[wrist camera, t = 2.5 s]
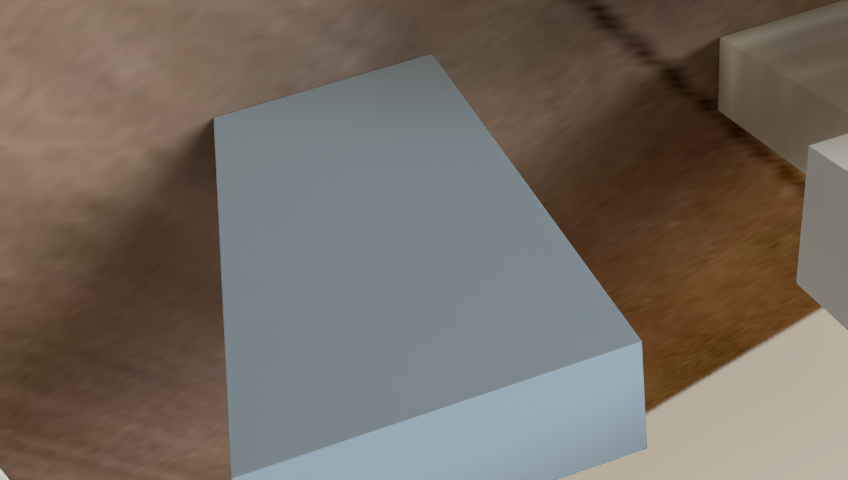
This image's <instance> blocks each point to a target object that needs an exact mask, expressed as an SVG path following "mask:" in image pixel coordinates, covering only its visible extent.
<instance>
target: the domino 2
mask: <svg viewBox="0 0 848 480" xmlns="http://www.w3.org/2000/svg"><path fill="white" fill-rule="evenodd" d="M718 111H720V112H721V113H722V114H724V115H725V116H727V117H728V118H729V119H731V120H732V121H733V122H735V123H736V124H738V125H739V126H740V127H742V128H743V129H744V130H746V131H747V132H748V133H750V134H751V135H753V136H754V137H755V138H757V139H758V140H759V141H761V142H762V143H764V144H765V145H766V146H768V147H769V148H770V149H772V150H773V151H775V152H776V153H777V154H779V155H780V156H781V157H783V158H784V159H785V160H787V161H788V162H790V163H791V164H792V165H794V166H795V167H796V168H798V169H799V170H801V171H802V172H803V173H805V174H806V172H807V161H808V150H809V146H810V145H813V144H816V143H819V142H822V141H825V140H829V139H832V138H835V137H838V136H841V135H844V134H848V0H841V1H838V2H835V3H831V4H828V5H825V6H821V7H818V8H815V9H812V10H808V11H805V12H802V13H798V14H795V15H792V16H789V17H785V18H782V19H779V20H775V21H772V22H769V23H765V24H762V25H759V26H756V27H752V28H749V29H746V30H742V31H739V32H736V33H732V34H729V35H726V36H723V37H720V53H719V95H718Z"/></svg>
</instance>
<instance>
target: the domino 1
mask: <svg viewBox="0 0 848 480" xmlns="http://www.w3.org/2000/svg"><path fill="white" fill-rule="evenodd" d="M214 136H215V157H216V177H217V197H218V217H219V237H220V257H221V277H222V298H223V318H224V338H225V358H226V378H227V398H228V418H229V439H230V459H231V479H232V480H557V479H560V478H563V477H566V476H568V475H571V474H575V473H577V472H580V471H583V470H586V469H589V468H592V467H594V466H597V465H600V464H603V463H606V462H609V461H612V460H615V459H618V458H620V457H623V456H626V455H629V454H632V453H635V452H638V451H640V450H643V449H646V448H647V438H646V418H645V398H644V378H643V358H642V341H641V340H640V338H639V337H638V335H637V334H636V333H635V331H634V330H633V329H632V327H631V326H630V324H629V323H628V322H627V320H626V319H625V318H624V316H623V315H622V314H621V312H620V311H619V309H618V308H617V307H616V305H615V304H614V303H613V301H612V300H611V298H610V297H609V296H608V294H607V293H606V292H605V290H604V289H603V287H602V286H601V285H600V283H599V282H598V281H597V279H596V278H595V276H594V275H593V274H592V272H591V271H590V270H589V268H588V267H587V265H586V264H585V263H584V261H583V260H582V259H581V257H580V256H579V254H578V253H577V252H576V250H575V249H574V248H573V246H572V245H571V244H570V242H569V241H568V239H567V238H566V237H565V235H564V234H563V233H562V231H561V230H560V228H559V227H558V226H557V224H556V223H555V222H554V220H553V219H552V217H551V216H550V215H549V213H548V212H547V211H546V209H545V208H544V206H543V205H542V204H541V202H540V201H539V200H538V198H537V197H536V195H535V194H534V193H533V191H532V190H531V189H530V187H529V186H528V185H527V183H526V182H525V180H524V179H523V178H522V176H521V175H520V174H519V172H518V171H517V169H516V168H515V167H514V165H513V164H512V163H511V161H510V160H509V158H508V157H507V156H506V154H505V153H504V152H503V150H502V149H501V147H500V146H499V145H498V143H497V142H496V141H495V139H494V138H493V136H492V135H491V134H490V132H489V131H488V130H487V128H486V127H485V125H484V124H483V123H482V121H481V120H480V119H479V117H478V116H477V115H476V113H475V112H474V110H473V109H472V108H471V106H470V105H469V104H468V102H467V101H466V99H465V98H464V97H463V95H462V94H461V93H460V91H459V90H458V88H457V87H456V86H455V84H454V83H453V82H452V80H451V79H450V77H449V76H448V75H447V73H446V72H445V71H444V69H443V68H442V66H441V65H440V64H439V62H438V61H437V60H436V58H435V57H434V55H433V54H428V55H425V56H422V57H418V58H415V59H411V60H408V61H405V62H401V63H398V64H394V65H391V66H388V67H384V68H381V69H378V70H374V71H371V72H367V73H364V74H361V75H357V76H354V77H350V78H347V79H344V80H340V81H337V82H333V83H330V84H327V85H323V86H320V87H317V88H313V89H310V90H306V91H303V92H300V93H296V94H293V95H289V96H286V97H283V98H279V99H276V100H272V101H269V102H266V103H262V104H259V105H256V106H252V107H249V108H245V109H242V110H239V111H235V112H232V113H228V114H225V115H222V116H218V117H215V118H214Z"/></svg>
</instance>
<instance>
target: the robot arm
mask: <svg viewBox="0 0 848 480" xmlns="http://www.w3.org/2000/svg"><path fill="white" fill-rule="evenodd" d="M796 283H797V284H798V285H799V286H800V287H801V288H802V289H803V290H805V291H806V292H807V293H808V294H809V295H810V296H811V297H812V298H813V299H814V300H816V301H817V302H818V303H819V304H820V305H821V306H822V307H823V308H824V309H825V310H827V311H828V312H829V313H830V314H831V315H832V316H833V317H834V318H835V319H836V320H837V321H839V322H840V323H841V324H842V325H843V326H844V327H845V328H846V329H847V330H848V134H844V135H841V136H838V137H835V138H832V139H829V140H825V141H822V142H819V143H816V144H813V145H810V146H809V150H808V161H807V172H806V183H805V194H804V205H803V215H802V226H801V237H800V248H799V259H798V270H797V281H796ZM0 480H9V479H8V477H7V476H6V475H5V474H4V473H3V471H2V470H1V469H0Z"/></svg>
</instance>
